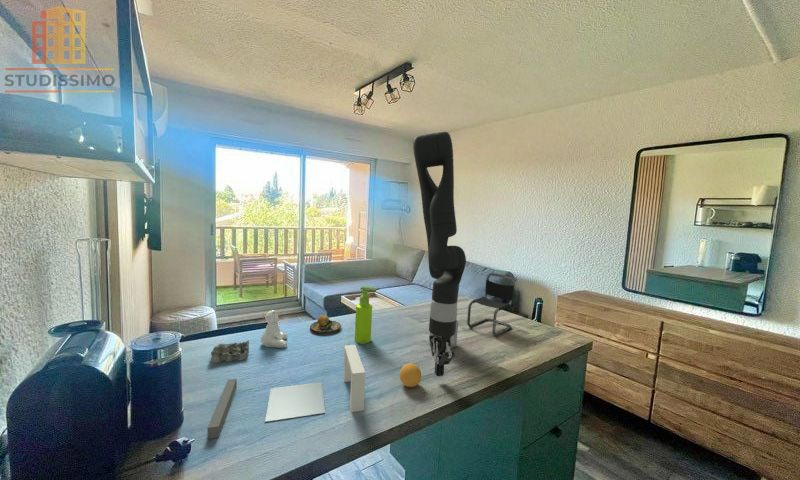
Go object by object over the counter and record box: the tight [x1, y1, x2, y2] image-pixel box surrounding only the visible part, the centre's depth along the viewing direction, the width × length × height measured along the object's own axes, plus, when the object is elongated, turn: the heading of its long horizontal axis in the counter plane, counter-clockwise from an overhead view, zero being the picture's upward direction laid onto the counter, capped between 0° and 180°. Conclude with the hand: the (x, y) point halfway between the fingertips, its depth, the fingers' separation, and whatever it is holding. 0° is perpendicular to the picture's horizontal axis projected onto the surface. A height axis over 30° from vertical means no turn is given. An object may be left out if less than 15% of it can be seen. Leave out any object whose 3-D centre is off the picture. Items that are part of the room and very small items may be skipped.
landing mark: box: [264, 381, 326, 423], centre depth 76 cm, size 13×13×1 cm
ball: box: [399, 362, 422, 388], centre depth 85 cm, size 6×6×6 cm
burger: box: [309, 314, 342, 336], centre depth 120 cm, size 12×12×8 cm
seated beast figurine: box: [260, 309, 288, 349], centre depth 105 cm, size 10×9×12 cm
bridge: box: [342, 344, 366, 413], centre depth 80 cm, size 3×15×10 cm, turn 18°
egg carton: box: [210, 340, 250, 364], centre depth 96 cm, size 10×7×4 cm
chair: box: [466, 272, 518, 337], centre depth 130 cm, size 13×17×22 cm
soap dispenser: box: [354, 286, 377, 345], centre depth 111 cm, size 6×7×20 cm
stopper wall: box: [207, 378, 238, 440], centre depth 71 cm, size 2×18×2 cm, turn 18°
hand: (438, 374), depth 88 cm, fingers closed
